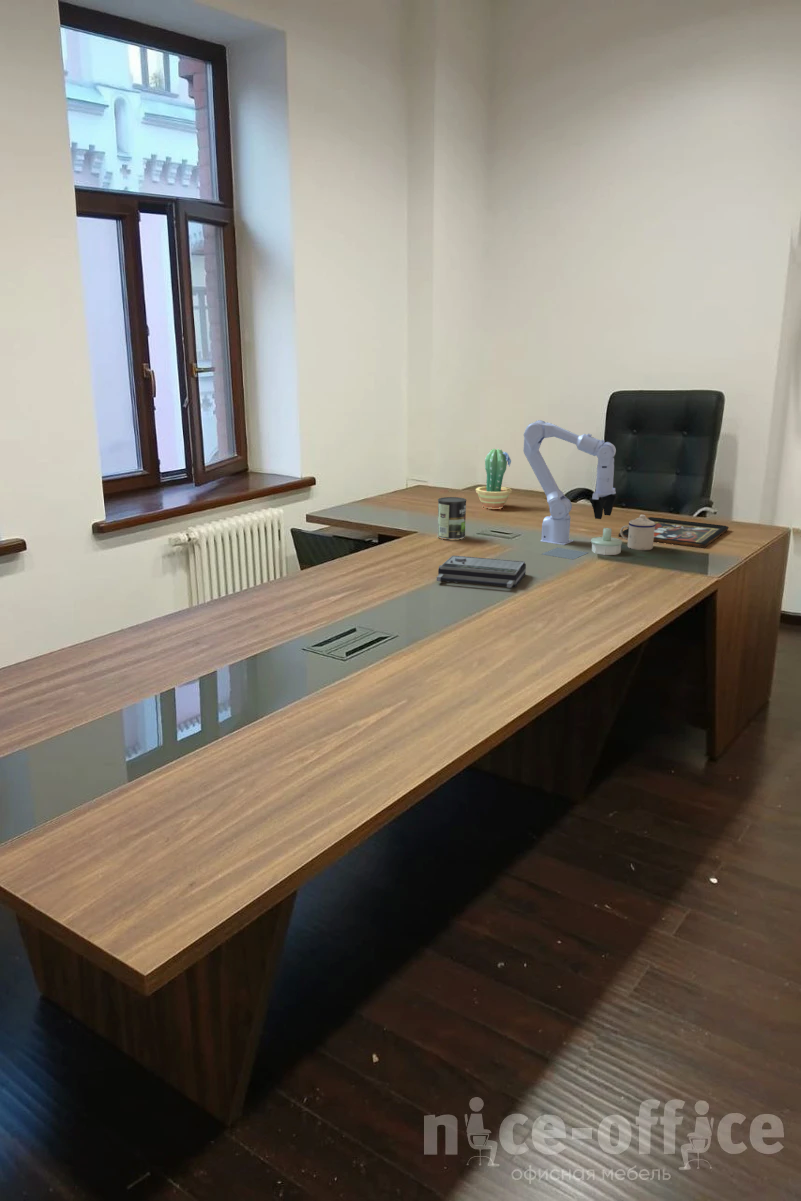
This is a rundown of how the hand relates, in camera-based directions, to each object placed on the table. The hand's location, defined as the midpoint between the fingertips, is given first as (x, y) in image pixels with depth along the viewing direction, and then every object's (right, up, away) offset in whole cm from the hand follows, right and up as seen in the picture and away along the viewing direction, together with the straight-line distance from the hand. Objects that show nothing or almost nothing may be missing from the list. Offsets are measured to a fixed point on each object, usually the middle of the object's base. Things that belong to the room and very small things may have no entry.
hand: (602, 516), depth 313 cm
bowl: (0, -13, -6) cm, 14 cm away
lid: (0, -9, -7) cm, 12 cm away
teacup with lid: (+12, -11, +2) cm, 16 cm away
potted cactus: (-31, +10, +69) cm, 77 cm away
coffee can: (-52, -6, +15) cm, 55 cm away
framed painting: (+32, -5, +22) cm, 39 cm away
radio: (-47, -23, -39) cm, 65 cm away
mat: (-15, -14, -9) cm, 22 cm away
